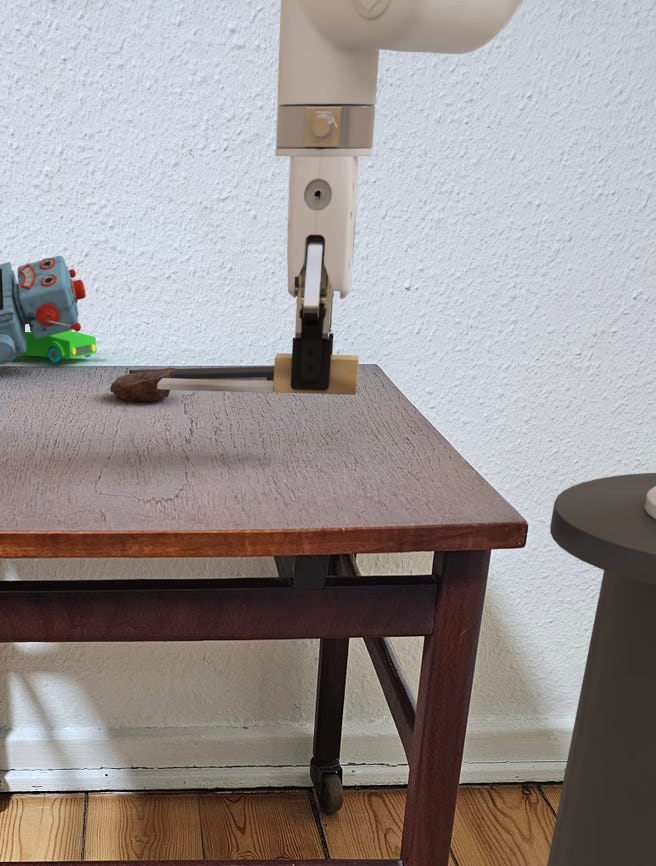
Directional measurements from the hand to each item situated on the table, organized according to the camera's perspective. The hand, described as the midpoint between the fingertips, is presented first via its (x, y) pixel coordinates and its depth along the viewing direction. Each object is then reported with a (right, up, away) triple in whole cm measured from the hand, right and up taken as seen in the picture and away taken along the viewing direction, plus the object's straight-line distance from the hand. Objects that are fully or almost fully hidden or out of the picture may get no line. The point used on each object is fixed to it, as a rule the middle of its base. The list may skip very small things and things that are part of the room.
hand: (310, 384), depth 101 cm
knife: (-4, 0, +1) cm, 5 cm away
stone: (-15, +8, +26) cm, 31 cm away
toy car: (-28, +22, +48) cm, 59 cm away
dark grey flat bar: (-7, +14, +34) cm, 38 cm away
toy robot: (-51, +19, +40) cm, 68 cm away
